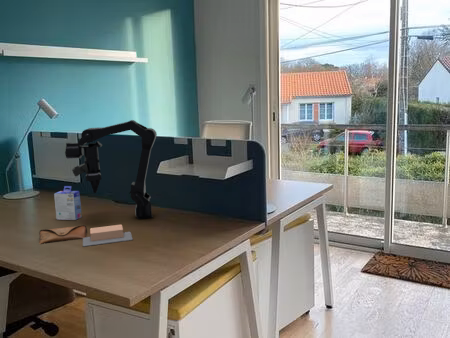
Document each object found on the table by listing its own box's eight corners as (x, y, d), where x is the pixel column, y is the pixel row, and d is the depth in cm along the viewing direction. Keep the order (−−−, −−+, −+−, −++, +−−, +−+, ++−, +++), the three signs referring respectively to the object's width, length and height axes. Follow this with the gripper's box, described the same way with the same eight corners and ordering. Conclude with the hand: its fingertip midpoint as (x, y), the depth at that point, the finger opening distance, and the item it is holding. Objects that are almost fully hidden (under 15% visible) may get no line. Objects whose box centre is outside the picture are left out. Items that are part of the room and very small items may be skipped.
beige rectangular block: (121, 224, 176) (123, 229, 170) (122, 231, 177) (123, 237, 170) (90, 228, 173) (90, 233, 166) (90, 235, 173) (91, 241, 167)
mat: (130, 232, 177) (130, 231, 177) (132, 240, 167) (132, 239, 167) (83, 238, 172) (82, 237, 172) (82, 246, 162) (82, 246, 162)
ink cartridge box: (82, 216, 201) (79, 185, 199) (76, 220, 196) (73, 188, 193) (62, 216, 203) (59, 185, 201) (56, 220, 198) (52, 188, 195)
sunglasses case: (37, 244, 166) (36, 227, 168) (40, 248, 172) (39, 231, 175) (87, 238, 171) (86, 221, 173) (88, 242, 178) (86, 226, 180)
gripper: (72, 156, 198) (76, 190, 201) (71, 162, 180) (75, 199, 183) (98, 154, 201) (101, 187, 204) (99, 160, 183) (103, 196, 186)
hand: (95, 192), depth 194 cm, fingers closed
